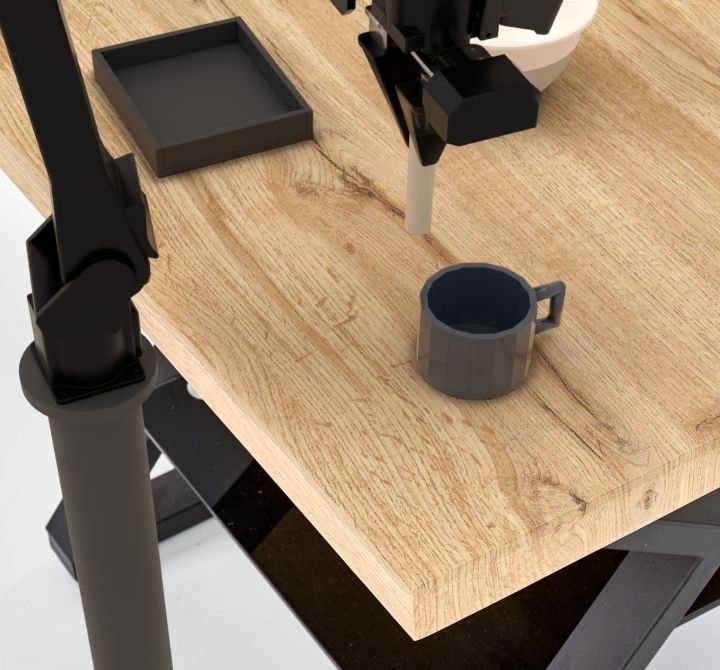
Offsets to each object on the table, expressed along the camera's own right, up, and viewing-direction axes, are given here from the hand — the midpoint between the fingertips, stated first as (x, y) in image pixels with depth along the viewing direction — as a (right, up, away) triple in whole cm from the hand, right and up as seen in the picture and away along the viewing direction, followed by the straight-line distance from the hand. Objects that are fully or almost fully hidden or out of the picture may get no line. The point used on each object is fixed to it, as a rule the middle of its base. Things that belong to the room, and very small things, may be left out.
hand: (421, 155), depth 103 cm
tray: (-17, +10, +25) cm, 32 cm away
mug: (+5, -12, +6) cm, 15 cm away
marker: (0, -4, +4) cm, 6 cm away
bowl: (+7, +13, +28) cm, 32 cm away
